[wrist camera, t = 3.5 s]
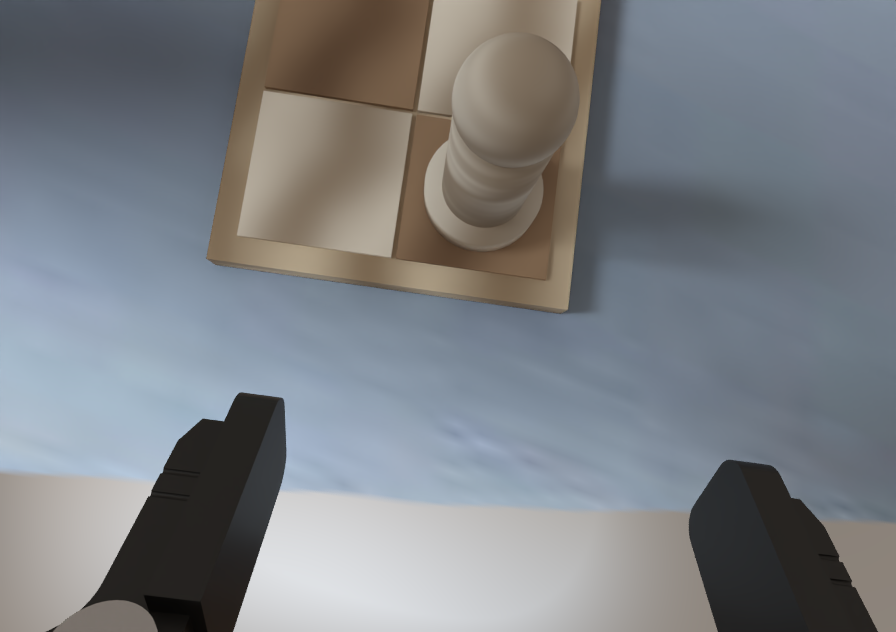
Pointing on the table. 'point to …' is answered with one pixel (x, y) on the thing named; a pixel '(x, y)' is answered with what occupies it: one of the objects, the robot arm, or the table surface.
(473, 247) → the pawn
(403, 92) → the board
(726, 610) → the robot arm
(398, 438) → the table surface
